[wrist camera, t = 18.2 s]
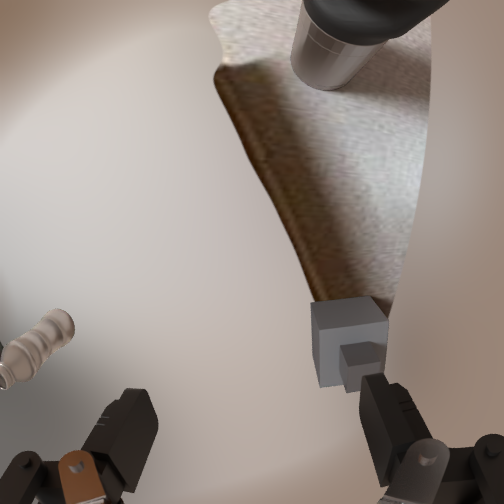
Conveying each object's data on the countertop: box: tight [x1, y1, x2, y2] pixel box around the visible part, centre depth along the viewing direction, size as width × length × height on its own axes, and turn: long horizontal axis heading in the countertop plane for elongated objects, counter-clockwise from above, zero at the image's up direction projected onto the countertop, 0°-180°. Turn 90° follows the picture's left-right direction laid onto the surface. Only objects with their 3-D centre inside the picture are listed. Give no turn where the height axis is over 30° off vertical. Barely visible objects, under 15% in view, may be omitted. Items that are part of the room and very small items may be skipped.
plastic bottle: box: [0, 309, 75, 390], centre depth 40 cm, size 6×7×20 cm
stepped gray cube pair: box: [311, 296, 389, 393], centre depth 41 cm, size 9×9×14 cm
